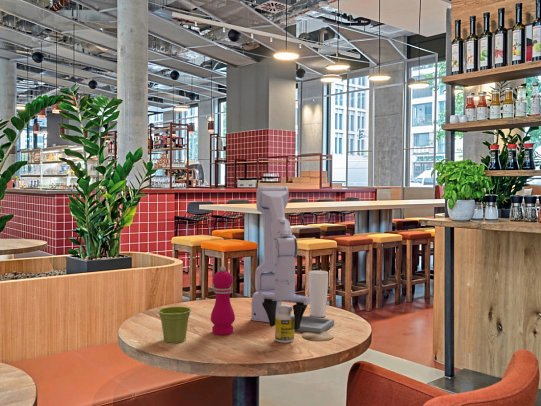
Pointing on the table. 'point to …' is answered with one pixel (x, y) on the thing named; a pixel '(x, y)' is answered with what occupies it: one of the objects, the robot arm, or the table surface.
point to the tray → (314, 324)
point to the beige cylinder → (318, 292)
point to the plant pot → (174, 323)
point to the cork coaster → (318, 336)
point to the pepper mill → (222, 304)
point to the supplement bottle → (284, 324)
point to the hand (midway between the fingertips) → (284, 327)
